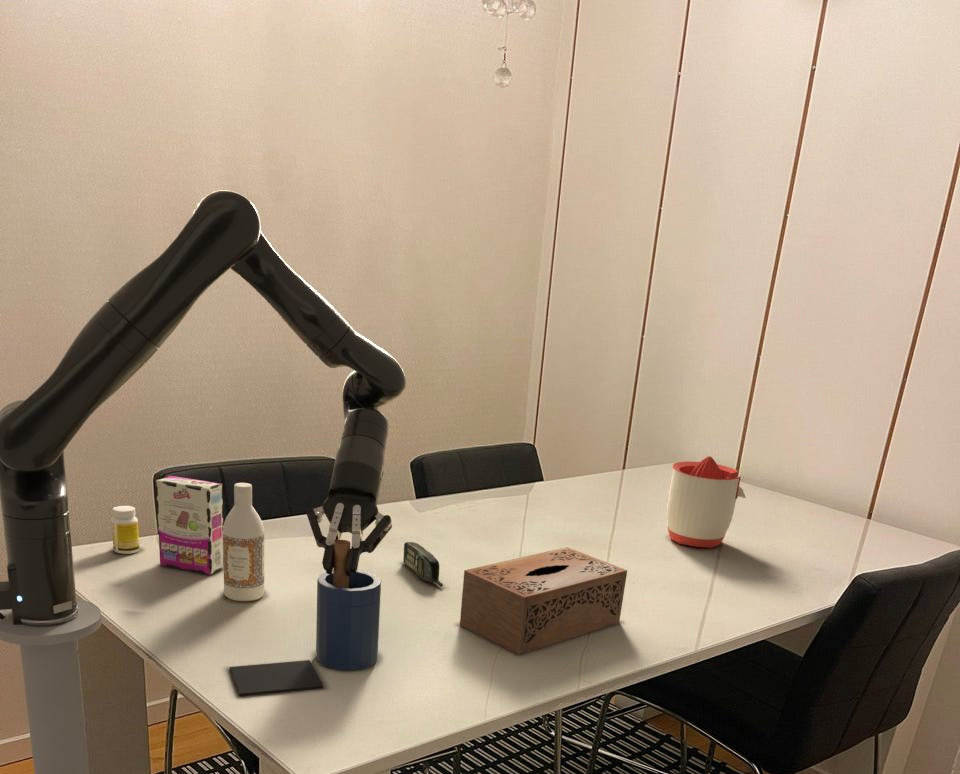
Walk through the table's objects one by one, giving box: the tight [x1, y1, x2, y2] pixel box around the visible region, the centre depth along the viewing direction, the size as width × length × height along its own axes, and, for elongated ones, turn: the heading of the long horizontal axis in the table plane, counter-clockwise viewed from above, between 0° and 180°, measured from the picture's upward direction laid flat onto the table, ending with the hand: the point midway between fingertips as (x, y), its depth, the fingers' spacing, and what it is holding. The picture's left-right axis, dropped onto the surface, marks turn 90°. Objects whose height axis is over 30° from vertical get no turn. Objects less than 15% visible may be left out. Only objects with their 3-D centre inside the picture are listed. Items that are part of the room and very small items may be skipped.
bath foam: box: [222, 482, 265, 602], centre depth 167 cm, size 7×7×20 cm
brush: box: [333, 539, 351, 588], centre depth 146 cm, size 5×5×14 cm
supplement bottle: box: [111, 505, 140, 555], centre depth 186 cm, size 5×5×8 cm
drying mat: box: [229, 659, 324, 697], centre depth 142 cm, size 12×9×1 cm
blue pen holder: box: [315, 569, 382, 672], centre depth 148 cm, size 9×9×13 cm
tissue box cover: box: [459, 546, 628, 655], centre depth 169 cm, size 26×14×10 cm, turn 133°
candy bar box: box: [155, 475, 224, 576], centre depth 179 cm, size 11×5×16 cm, turn 73°
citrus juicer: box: [666, 456, 747, 549], centre depth 222 cm, size 16×17×20 cm
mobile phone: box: [402, 541, 444, 588], centre depth 188 cm, size 5×3×15 cm
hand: (338, 572), depth 143 cm, fingers closed on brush, 2 cm apart
